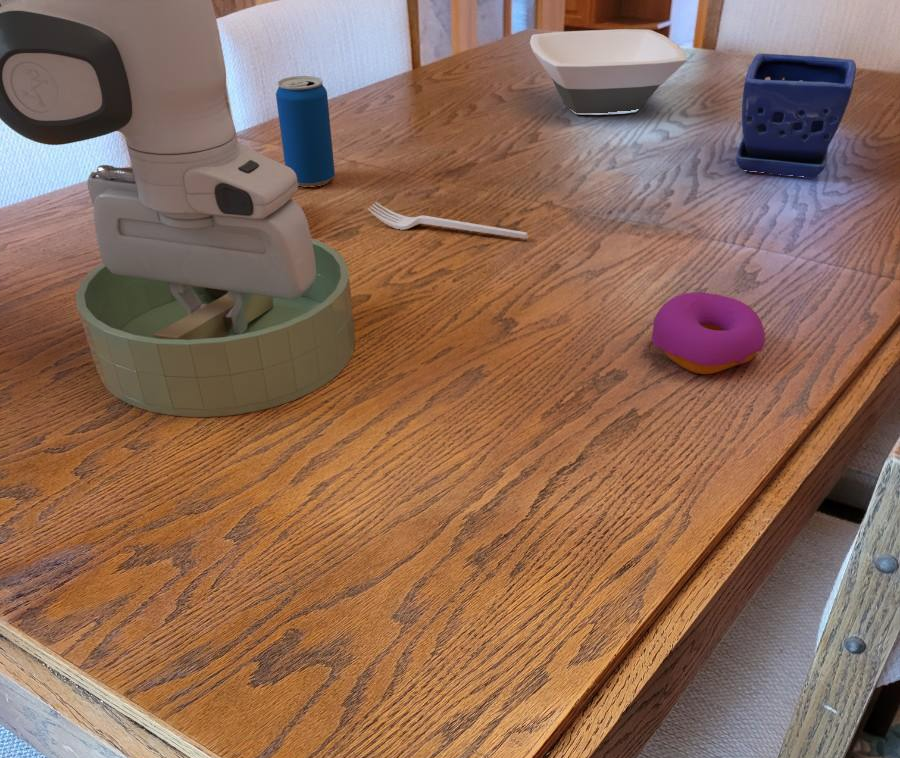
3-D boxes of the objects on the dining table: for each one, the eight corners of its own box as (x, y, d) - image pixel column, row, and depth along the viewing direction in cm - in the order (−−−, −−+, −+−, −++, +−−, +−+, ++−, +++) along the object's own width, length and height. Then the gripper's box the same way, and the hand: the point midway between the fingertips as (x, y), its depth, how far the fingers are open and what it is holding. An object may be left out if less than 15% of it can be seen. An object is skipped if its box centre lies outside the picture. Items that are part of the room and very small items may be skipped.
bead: (203, 283, 95) (215, 308, 94) (194, 271, 92) (206, 297, 91) (229, 271, 95) (241, 296, 94) (220, 259, 92) (232, 284, 91)
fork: (523, 246, 105) (524, 229, 103) (366, 225, 110) (365, 209, 109) (531, 235, 107) (532, 219, 106) (377, 215, 112) (376, 200, 111)
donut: (691, 390, 81) (700, 343, 78) (627, 342, 87) (632, 297, 84) (781, 363, 84) (793, 317, 81) (712, 319, 91) (721, 275, 88)
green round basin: (78, 428, 78) (52, 354, 73) (116, 302, 95) (98, 236, 91) (362, 404, 80) (356, 331, 75) (348, 286, 98) (342, 220, 93)
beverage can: (344, 183, 121) (335, 83, 113) (301, 193, 118) (288, 91, 110) (321, 170, 125) (310, 72, 117) (279, 179, 122) (265, 80, 114)
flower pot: (829, 186, 117) (856, 84, 109) (725, 176, 121) (744, 76, 112) (832, 154, 126) (857, 58, 118) (735, 146, 130) (753, 51, 121)
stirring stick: (181, 364, 78) (178, 337, 77) (157, 361, 78) (153, 334, 77) (273, 307, 92) (271, 283, 91) (252, 304, 93) (250, 280, 91)
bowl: (519, 90, 152) (521, 32, 146) (651, 84, 154) (658, 27, 148) (543, 130, 136) (546, 67, 131) (690, 123, 138) (699, 60, 132)
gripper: (60, 174, 76) (105, 328, 85) (281, 200, 71) (302, 359, 81) (103, 151, 80) (141, 299, 90) (314, 173, 75) (330, 327, 85)
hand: (219, 328), depth 85 cm, fingers closed on stirring stick, 2 cm apart
